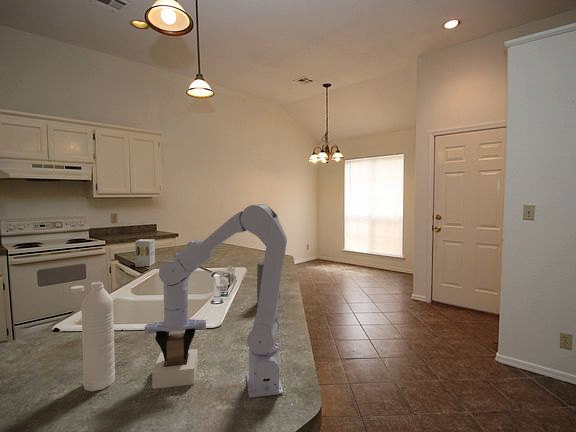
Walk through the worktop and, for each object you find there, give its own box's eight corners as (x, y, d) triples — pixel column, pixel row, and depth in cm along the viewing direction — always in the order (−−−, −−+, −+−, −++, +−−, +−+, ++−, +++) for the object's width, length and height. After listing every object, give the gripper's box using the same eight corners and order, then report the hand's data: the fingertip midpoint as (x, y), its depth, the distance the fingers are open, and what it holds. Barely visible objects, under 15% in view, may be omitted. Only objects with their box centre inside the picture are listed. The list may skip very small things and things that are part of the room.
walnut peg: (183, 371, 75) (183, 340, 74) (166, 372, 74) (166, 341, 73) (185, 362, 78) (185, 332, 78) (169, 363, 78) (169, 334, 77)
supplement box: (134, 267, 190) (134, 241, 189) (140, 263, 199) (140, 238, 198) (150, 266, 191) (150, 241, 190) (155, 263, 200) (155, 239, 199)
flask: (266, 306, 124) (267, 259, 123) (254, 304, 127) (255, 258, 126) (283, 296, 138) (283, 253, 136) (272, 294, 140) (272, 252, 139)
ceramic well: (194, 384, 72) (194, 368, 72) (152, 388, 70) (152, 372, 70) (197, 362, 82) (197, 348, 81) (160, 366, 80) (160, 352, 79)
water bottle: (105, 372, 77) (103, 277, 75) (120, 380, 73) (118, 281, 72) (67, 391, 69) (63, 286, 68) (81, 401, 66) (78, 290, 64)
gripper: (206, 299, 80) (206, 347, 81) (149, 302, 77) (150, 352, 78) (205, 308, 73) (205, 362, 74) (141, 312, 70) (142, 368, 71)
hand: (176, 358), depth 76 cm, fingers closed on walnut peg, 4 cm apart
